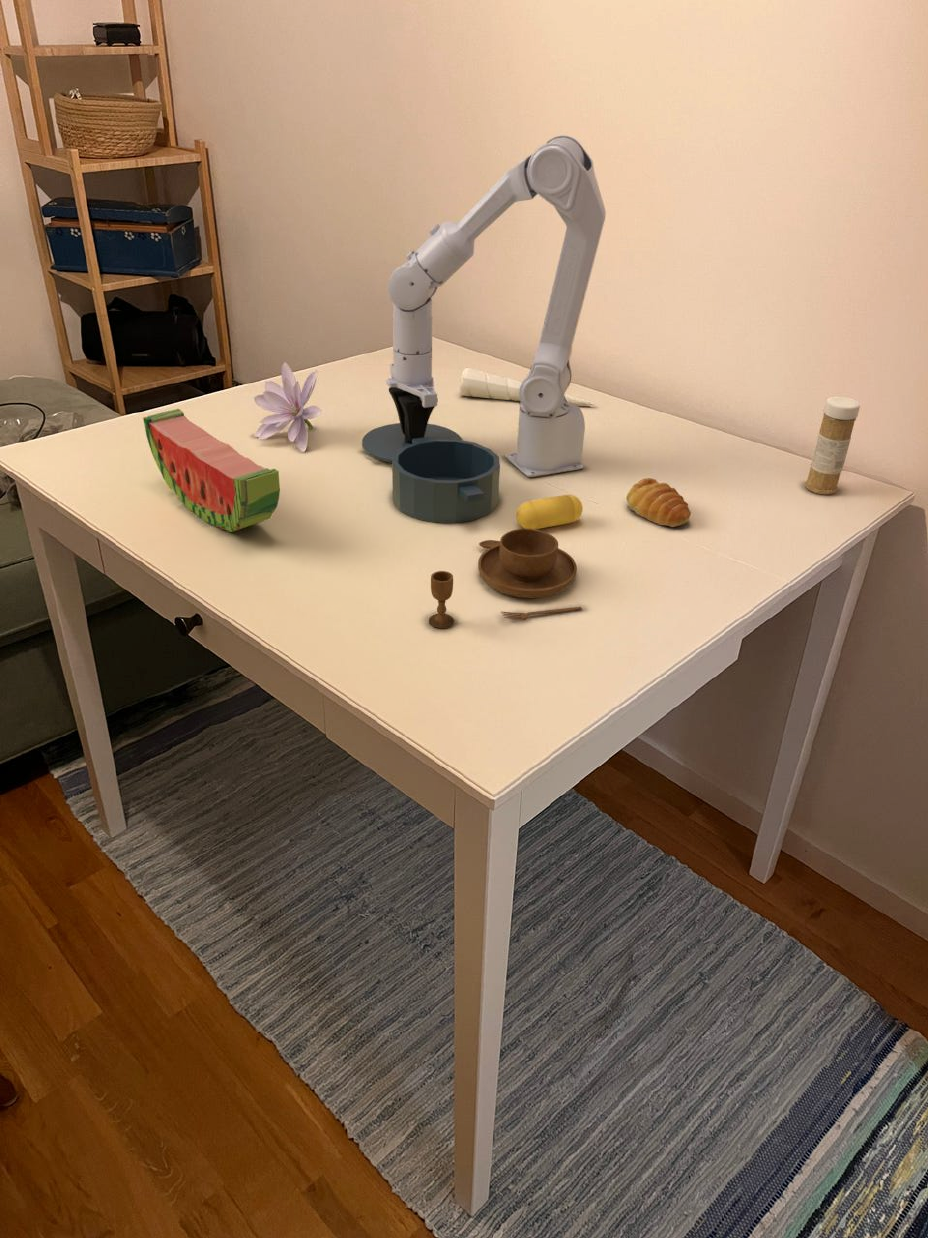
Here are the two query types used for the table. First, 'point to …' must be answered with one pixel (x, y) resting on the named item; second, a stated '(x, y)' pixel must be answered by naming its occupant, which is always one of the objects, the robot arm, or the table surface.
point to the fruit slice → (211, 473)
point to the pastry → (658, 503)
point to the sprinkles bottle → (832, 444)
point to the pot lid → (398, 439)
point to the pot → (445, 480)
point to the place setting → (514, 572)
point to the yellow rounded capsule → (549, 512)
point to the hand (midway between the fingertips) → (412, 436)
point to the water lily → (287, 407)
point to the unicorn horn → (498, 387)
